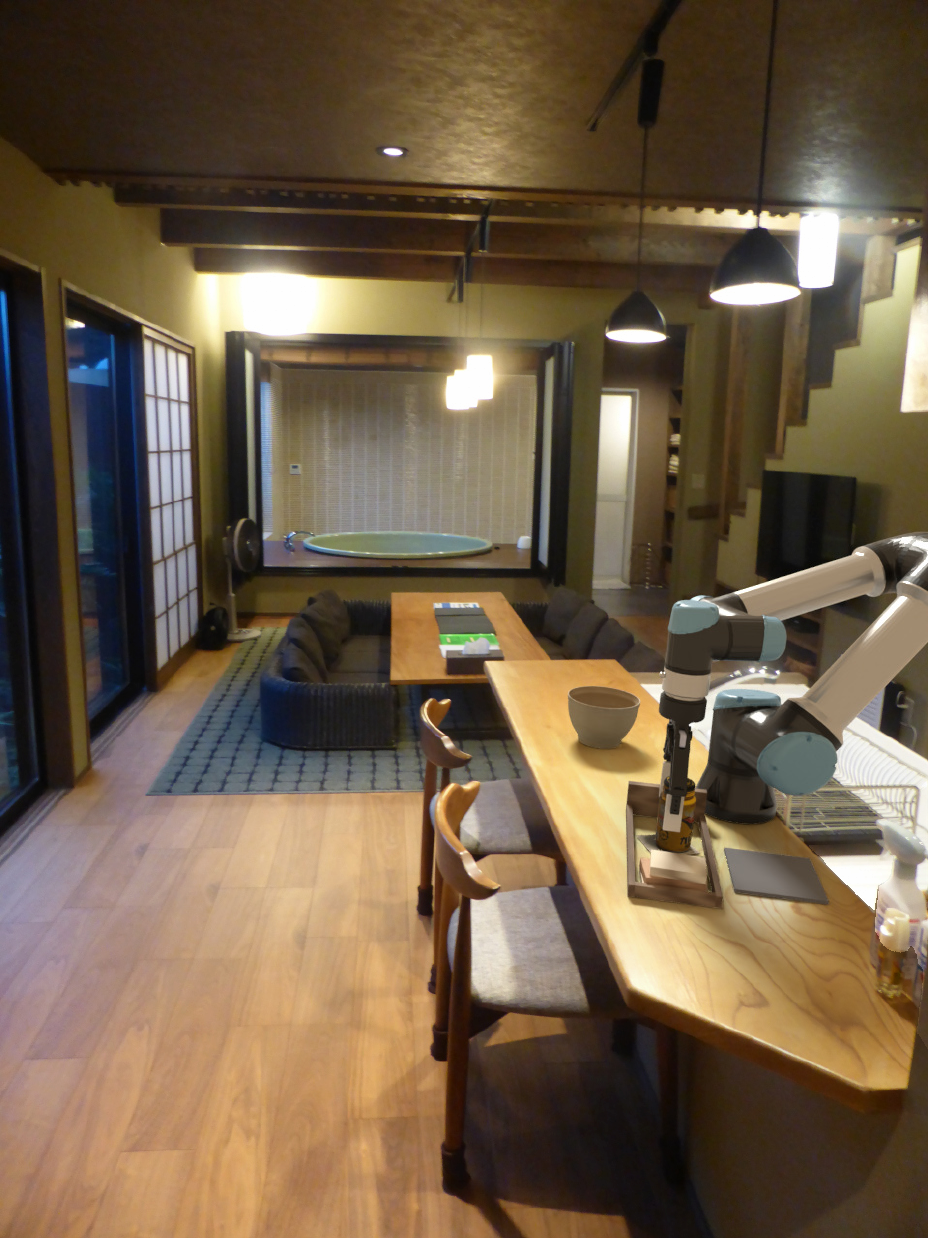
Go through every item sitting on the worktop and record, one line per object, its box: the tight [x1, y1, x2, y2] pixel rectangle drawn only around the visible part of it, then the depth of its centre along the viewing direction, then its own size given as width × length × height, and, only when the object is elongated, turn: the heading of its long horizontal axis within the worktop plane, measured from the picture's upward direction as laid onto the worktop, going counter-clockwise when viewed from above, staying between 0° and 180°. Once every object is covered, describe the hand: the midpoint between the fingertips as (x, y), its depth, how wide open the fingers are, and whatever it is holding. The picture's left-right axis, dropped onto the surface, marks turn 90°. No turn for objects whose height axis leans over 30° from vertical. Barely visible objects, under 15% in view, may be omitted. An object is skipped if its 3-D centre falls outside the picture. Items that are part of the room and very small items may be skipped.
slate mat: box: [723, 846, 830, 906], centre depth 142 cm, size 14×14×1 cm
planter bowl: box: [567, 685, 641, 750], centre depth 198 cm, size 16×16×11 cm
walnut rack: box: [625, 780, 724, 909], centre depth 147 cm, size 14×31×6 cm, turn 170°
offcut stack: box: [638, 850, 710, 892], centre depth 137 cm, size 10×7×5 cm
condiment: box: [636, 776, 700, 855], centre depth 150 cm, size 7×8×12 cm
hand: (668, 813), depth 150 cm, fingers open, 13 cm apart
